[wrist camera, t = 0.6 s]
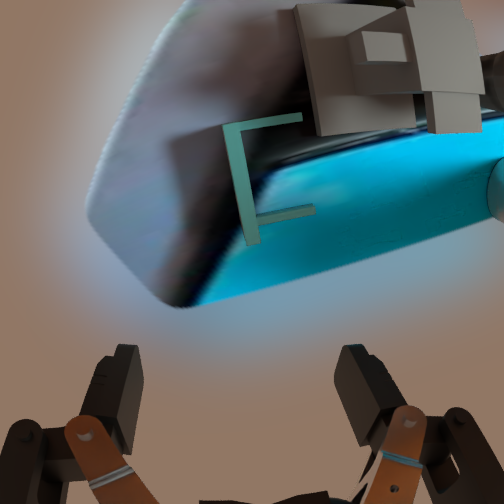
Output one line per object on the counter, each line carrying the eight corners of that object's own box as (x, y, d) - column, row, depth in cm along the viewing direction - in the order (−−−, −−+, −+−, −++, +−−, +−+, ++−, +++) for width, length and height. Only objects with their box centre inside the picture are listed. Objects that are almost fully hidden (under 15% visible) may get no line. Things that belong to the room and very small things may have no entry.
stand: (388, 11, 24) (460, -19, 13) (408, 126, 29) (488, 139, 18) (292, 8, 23) (337, -44, 12) (316, 135, 29) (376, 148, 18)
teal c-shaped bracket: (298, 111, 27) (314, 110, 23) (313, 212, 32) (329, 228, 27) (221, 124, 27) (222, 125, 23) (241, 226, 31) (246, 246, 27)
